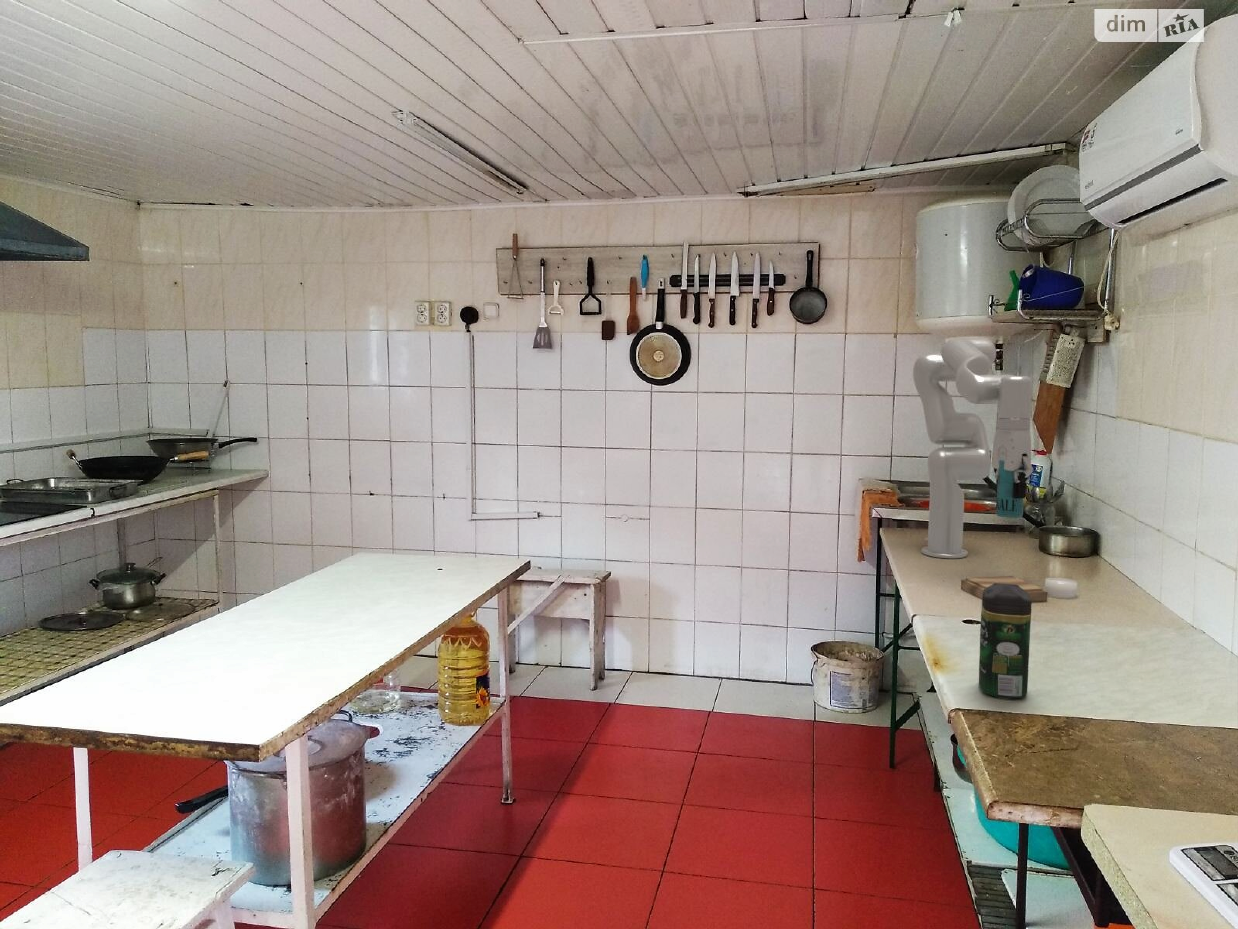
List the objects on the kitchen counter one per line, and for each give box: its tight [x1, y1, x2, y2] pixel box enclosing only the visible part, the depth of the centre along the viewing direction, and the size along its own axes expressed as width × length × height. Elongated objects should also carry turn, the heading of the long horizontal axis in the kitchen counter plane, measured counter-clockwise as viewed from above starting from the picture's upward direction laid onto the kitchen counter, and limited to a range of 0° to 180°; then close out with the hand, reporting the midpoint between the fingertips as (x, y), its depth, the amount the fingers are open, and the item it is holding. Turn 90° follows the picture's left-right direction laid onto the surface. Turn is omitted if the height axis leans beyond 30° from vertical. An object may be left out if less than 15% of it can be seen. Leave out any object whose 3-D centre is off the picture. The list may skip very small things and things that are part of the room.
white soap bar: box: [1044, 577, 1078, 600], centre depth 216 cm, size 7×7×4 cm
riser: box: [960, 575, 1048, 603], centre depth 216 cm, size 14×14×3 cm
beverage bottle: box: [995, 460, 1024, 519], centre depth 223 cm, size 6×7×20 cm
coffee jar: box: [978, 583, 1033, 700], centre depth 153 cm, size 10×8×19 cm
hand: (1010, 495), depth 223 cm, fingers closed on beverage bottle, 6 cm apart
